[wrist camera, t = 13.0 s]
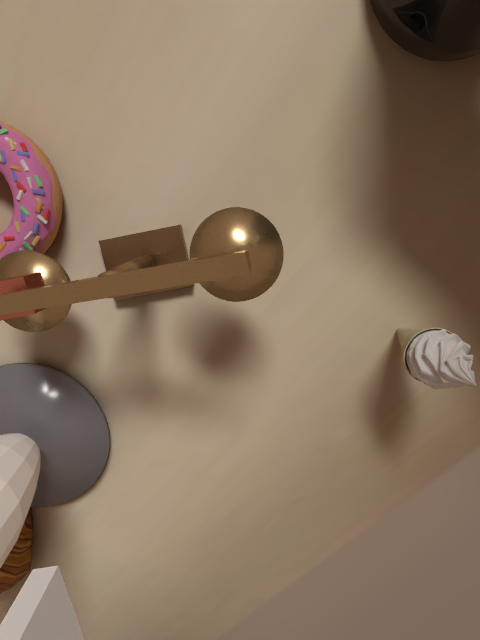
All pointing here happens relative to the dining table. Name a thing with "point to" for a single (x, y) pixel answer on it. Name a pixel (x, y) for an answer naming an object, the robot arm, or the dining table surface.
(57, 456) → the grey flat disc
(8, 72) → the dining table surface
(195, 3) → the dining table surface
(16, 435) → the cup
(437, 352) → the ice cream cone
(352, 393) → the dining table surface
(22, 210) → the donut
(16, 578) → the croissant
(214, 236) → the balance
